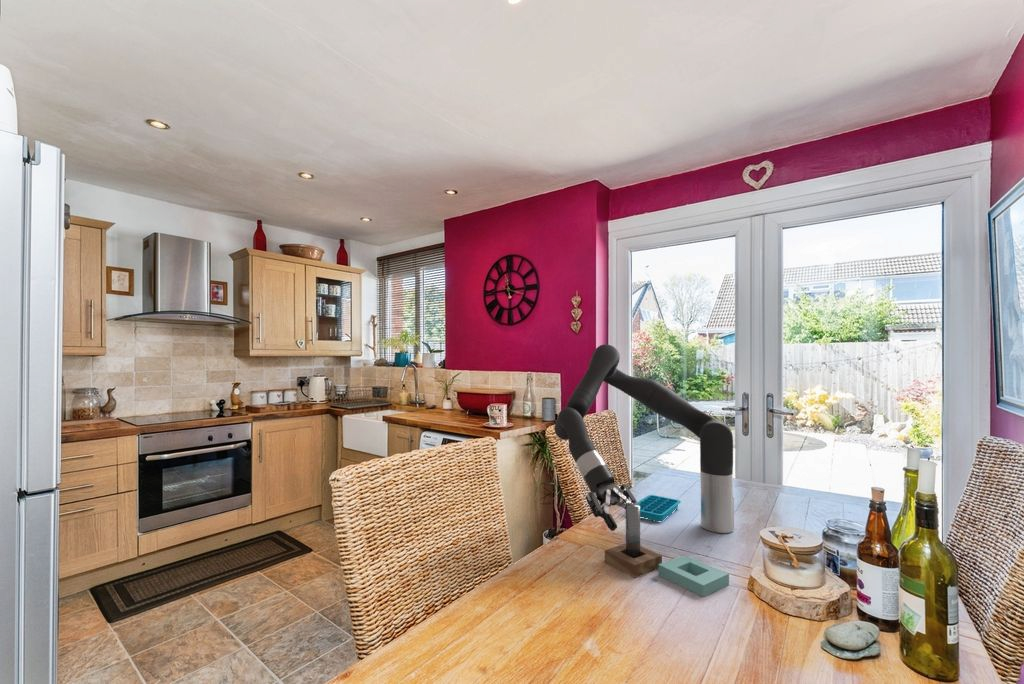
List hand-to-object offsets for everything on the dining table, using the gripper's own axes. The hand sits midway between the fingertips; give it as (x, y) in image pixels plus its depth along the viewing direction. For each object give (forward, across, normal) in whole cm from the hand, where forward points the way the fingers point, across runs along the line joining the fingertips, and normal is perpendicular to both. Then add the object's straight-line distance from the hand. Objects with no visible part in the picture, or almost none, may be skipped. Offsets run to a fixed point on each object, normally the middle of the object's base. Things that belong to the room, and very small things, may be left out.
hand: (626, 525), depth 115 cm
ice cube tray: (-7, -38, -22) cm, 45 cm away
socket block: (+8, 0, -5) cm, 9 cm away
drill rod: (+8, 0, -5) cm, 9 cm away
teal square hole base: (+17, -6, +5) cm, 19 cm away
